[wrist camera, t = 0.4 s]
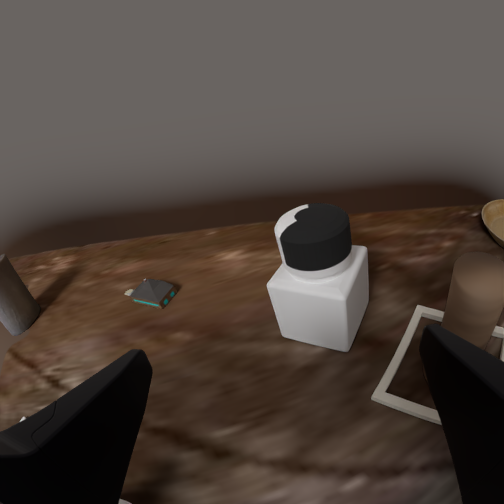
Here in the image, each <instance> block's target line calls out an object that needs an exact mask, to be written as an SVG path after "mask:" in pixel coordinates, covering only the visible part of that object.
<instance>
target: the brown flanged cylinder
mask: <svg viewBox="0 0 504 504" xmlns="http://www.w3.org/2000/svg"><path fill="white" fill-rule="evenodd" d="M503 307H504V262H503V261H502V260H500V259H499V258H497V257H495V256H493V255H491V254H488V253H484V252H470V253H466V254H464V255H462V256H460V257H459V258H458V259H457V260H456V262H455V264H454V269H453V274H452V280H451V285H450V290H449V294H448V299H447V303H446V307H445V312H444V316H443V319H442V323H441V326H442V327H443V328H445V329H447V330H449V331H451V332H452V333H454V334H456V335H458V336H460V337H461V338H463V339H465V340H467V341H468V342H470V343H472V344H474V345H476V346H477V347H479V348H481V349H483V350H485V348H486V346H487V344H488V342H489V340H490V338H491V336H492V333H493V331H494V329H495V327H496V324H497V322H498V319H499V317H500V314H501V312H502V309H503ZM423 374H424V377H425V380H426V381H427V377H426V373H425V370H424V366H423ZM427 383H428V381H427Z"/></svg>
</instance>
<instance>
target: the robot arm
mask: <svg viewBox="0 0 504 504" xmlns="http://www.w3.org/2000/svg"><path fill="white" fill-rule="evenodd" d="M419 351H420V355H421V359H422V362H423V366H424V370H425V373H426V377H427V381H428V385H429V389H430V392H431V395H432V398H433V401H434V403H435V406H436V409H437V412H438V415H439V418H440V421H441V424H442V427H443V430H444V433H445V436H446V439H447V443H448V446H449V449H450V453H451V456H452V460H453V464H454V467H455V471H456V475H457V479H458V483H459V488H460V492H461V496H462V497H461V498H462V502H463V504H504V362H503V361H502V360H500V359H498V358H496V357H495V356H493V355H491V354H490V353H488V352H486V351H484V350H483V349H481V348H479V347H477V346H476V345H474V344H472V343H470V342H468V341H467V340H465V339H463V338H461V337H460V336H458V335H456V334H454V333H452V332H451V331H449V330H447V329H445V328H443V327H442V326H440V325H438V324H431V325H426V326H425V327H424V329H423V333H422V337H421V341H420V346H419ZM151 378H152V367H151V365H150V362H149V360H148V358H147V356H146V354H145V352H144V351H143V350H138V349H132V350H130V351H129V352H127V353H126V354H124V355H123V356H121V357H120V358H118V359H117V360H115V361H114V362H112V363H111V364H110V365H108V366H107V367H105V368H104V369H102V370H101V371H99V372H98V373H96V374H95V375H93V376H92V377H90V378H89V379H87V380H86V381H84V382H83V383H81V384H80V385H78V386H77V387H75V388H74V389H72V390H71V391H69V392H68V393H66V394H65V395H63V396H62V397H60V398H59V399H57V401H54V402H53V403H51V404H50V405H48V406H47V407H45V408H44V409H42V410H40V411H39V412H37V413H35V414H34V415H32V416H30V417H28V418H26V419H25V420H23V421H21V422H19V423H17V424H15V425H13V426H11V427H10V428H8V429H6V430H4V431H1V432H0V504H119V500H120V496H121V492H122V488H123V484H124V481H125V477H126V473H127V470H128V466H129V462H130V459H131V455H132V452H133V449H134V445H135V442H136V438H137V435H138V432H139V428H140V425H141V422H142V419H143V415H144V412H145V408H146V403H147V398H148V393H149V388H150V383H151Z"/></svg>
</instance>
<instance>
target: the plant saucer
mask: <svg viewBox="0 0 504 504" xmlns="http://www.w3.org/2000/svg"><path fill="white" fill-rule="evenodd" d="M482 219H483V221H484V223H485V226H486V228H487V229H488V231H489V233H490V234H491V235H492V237H493V238H494V240H495V241H496V242H497V243H498V244H499V245H500V246H501V247H502V248H504V199H501V200H494V201H492V202H489V203H488V204H486V205H485V206H484V208H483V209H482Z"/></svg>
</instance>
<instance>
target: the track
mask: <svg viewBox="0 0 504 504" xmlns="http://www.w3.org/2000/svg"><path fill="white" fill-rule="evenodd" d="M421 316H422V317H426V318H429V319H433V320H437V321H440V322H442V319H443V316H444V312H442V311H439V310H435V309H431V308H428V307H424V306H420V305H417V307H416V309H415V312H414V314H413V317H412V319H411V321H410V323H409V326H408V328H407V330H406V332H405V334H404V336H403V338H402V341H401V343H400V345H399V347H398V349H397V351H396V353H395V355H394V357H393V359H392V361H391V363H390V364H389V366H388V368H387V370H386V372H385V374H384V376H383V377H382V379H381V381H380V383H379V384H378V386H377V388H376V390H375V391H374V393H373V395H372V397H371V400H373V401H376V402H378V403H381V404H383V405H386V406H389V407H391V408H394V409H397V410H399V411H402V412H405V413H407V414H410V415H413V416H416V417H419V418H422V419H424V420H427V421H430V422H433V423H436V424H440V425H442V424H441V421H440V418H439V415H438V412H437V410H434V409H431V408H428V407H425V406H422V405H419V404H417V403H414V402H411V401H408V400H405V399H402V398H400V397H397V396H394V395H392V394H389V393H386V391H387V389H388V387H389V385H390V383H391V381H392V379H393V378H394V376H395V374H396V372H397V370H398V368H399V366H400V364H401V362H402V360H403V358H404V355H405V353H406V351H407V349H408V347H409V345H410V342H411V340H412V338H413V336H414V333H415V331H416V329H417V326H418V324H419V321H420V319H421ZM492 336H495V337H499V338H503V341H502V348H501V354H500V360H502V361H503V362H504V328H502V327H499V326H496V327H495V329H494V331H493V333H492Z"/></svg>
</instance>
